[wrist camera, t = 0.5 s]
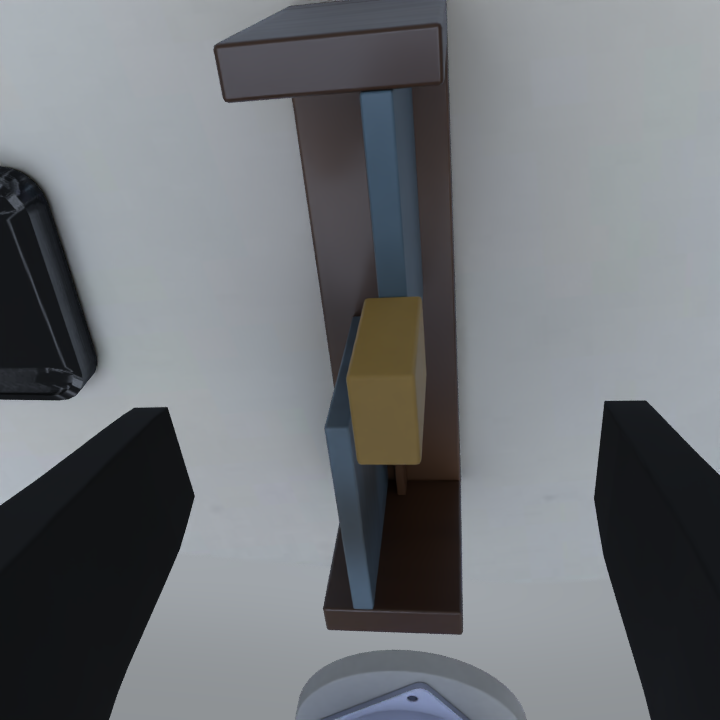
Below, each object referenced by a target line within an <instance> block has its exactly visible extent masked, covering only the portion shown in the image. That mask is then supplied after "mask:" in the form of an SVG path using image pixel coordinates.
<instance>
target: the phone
mask: <svg viewBox="0 0 720 720" xmlns="http://www.w3.org/2000/svg"><path fill="white" fill-rule="evenodd" d="M96 366H97V360H96V354H95V351H94V348H93V345H92V341H91V338H90V335H89V332H88V329H87V326H86V322H85V319H84V316H83V313H82V310H81V307H80V304H79V300H78V297H77V294H76V291H75V288H74V285H73V281H72V278H71V275H70V272H69V269H68V266H67V263H66V259H65V256H64V253H63V250H62V247H61V244H60V240H59V237H58V234H57V231H56V228H55V225H54V222H53V218H52V215H51V212H50V209H49V206H48V203H47V201H46V199H45V197H44V194H43V192H42V191H41V190H40V189H39V187H38V186H37V185H36V184H35V182H34V181H32V180H31V179H30V178H28V177H27V176H26V175H25V174H23V173H21V172H19V171H16V170H14V169H12V168H5V167H0V399H2V400H66V399H70V398H72V397H74V396H76V395H77V394H78V393H79V391H80V390H81V389H82V388H83V386H84V385H85V384H86V383H87V381H88V380H89V379H90V378H91V376H92V375H93V374H94V372H95V370H96Z"/></svg>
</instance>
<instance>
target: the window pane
mask: <svg viewBox="0 0 720 720" xmlns="http://www.w3.org/2000/svg"><path fill="white" fill-rule="evenodd" d="M360 106H361V117H362V127H363V138H364V148H365V158H366V169H367V179H368V190H369V200H370V211H371V221H372V231H373V242H374V252H375V263H376V273H377V283H378V294H379V298H368V299H365V301H364V304H363V309H362V313H361V317H360V321H359V326H358V330H357V334H356V338H355V343H354V347H353V351H352V355H351V360H350V364H349V368H348V372H347V377H346V382H347V390H348V397H349V405H350V412H351V420H352V427H353V435H354V442H355V450H356V457H357V461H358V463H359V464H361V465H417V464H420V462H421V458H422V441H423V424H424V408H425V391H426V359H425V342H424V325H423V308H422V300H423V275H422V258H421V241H420V223H419V206H418V188H417V171H416V154H415V136H414V119H413V101H412V88H401V89H389V90H377V91H365V92H361V93H360Z"/></svg>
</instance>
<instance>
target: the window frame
mask: <svg viewBox="0 0 720 720" xmlns="http://www.w3.org/2000/svg"><path fill="white" fill-rule="evenodd" d="M214 54H215V60H216V65H217V70H218V75H219V80H220V85H221V90H222V95H223V99H224V101H225V102H228V103H233V102H245V101H257V100H269V99H281V98H292V101H293V108H294V115H295V122H296V129H297V136H298V142H299V149H300V156H301V163H302V170H303V177H304V184H305V190H306V197H307V204H308V211H309V218H310V225H311V232H312V239H313V245H314V252H315V259H316V266H317V273H318V280H319V287H320V293H321V300H322V307H323V314H324V321H325V328H326V335H327V342H328V348H329V355H330V362H331V369H332V376H333V383H334V392H333V396H332V400H331V404H330V408H329V412H328V416H327V420H326V424H325V428H324V429H325V435H326V441H327V447H328V454H329V460H330V466H331V472H332V478H333V485H334V491H335V497H336V503H337V510H338V516H339V528H338V533H337V538H336V543H335V549H334V554H333V559H332V564H331V570H330V575H329V580H328V586H327V591H326V596H325V602H324V607H323V610H324V615H325V621H326V626H327V629H328V630H345V631H374V632H402V633H430V634H458V635H460V634H462V632H463V604H462V603H463V600H462V599H463V598H462V522H461V467H460V434H459V401H458V368H457V335H456V302H455V269H454V236H453V203H452V171H451V138H450V105H449V72H448V39H447V6H446V0H344V1H334V2H324V3H315V4H305V5H295V6H289V7H287V8H285V9H283V10H281V11H279V12H277V13H275V14H273V15H271V16H270V17H268V18H266V19H264V20H262V21H260V22H258V23H256V24H254V25H252V26H250V27H248V28H246V29H244V30H242V31H240V32H238V33H236V34H235V35H233V36H231V37H229V38H227V39H225V40H223V41H221V42H219V43H217V44H216V45H214ZM401 88H412V101H413V119H414V136H415V154H416V171H417V188H418V206H419V223H420V241H421V258H422V275H423V300H422V308H423V325H424V342H425V359H426V391H425V408H424V424H423V441H422V458H421V462H420V464H417V465H361V464H359V463H358V461H357V457H356V450H355V442H354V435H353V427H352V420H351V412H350V405H349V397H348V390H347V382H346V377H347V372H348V368H349V364H350V360H351V355H352V351H353V347H354V343H355V338H356V334H357V330H358V326H359V321H360V317H361V313H362V309H363V304H364V301H365V299H368V298H379V294H378V283H377V273H376V263H375V252H374V242H373V231H372V221H371V211H370V200H369V190H368V179H367V169H366V158H365V148H364V138H363V127H362V117H361V106H360V93H361V92H365V91H377V90H389V89H401Z"/></svg>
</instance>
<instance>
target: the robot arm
mask: <svg viewBox="0 0 720 720" xmlns="http://www.w3.org/2000/svg"><path fill="white" fill-rule="evenodd" d="M194 497H195V495H194V492H193V489H192V486H191V482H190V479H189V476H188V473H187V469H186V466H185V463H184V460H183V456H182V453H181V450H180V446H179V443H178V440H177V437H176V433H175V430H174V427H173V424H172V420H171V417H170V414H169V411H168V407H155V408H133V409H132V410H130V411H129V412H127V413H126V414H124V415H123V416H121V417H120V418H118V419H117V420H116V421H114V422H113V423H111V424H110V425H109V426H107V427H106V428H105V429H103V430H102V431H101V432H99V433H98V434H97V435H95V436H94V437H93V438H91V439H90V440H89V441H87V442H86V443H85V444H84V445H82V446H81V447H80V448H78V449H77V450H76V451H74V452H73V453H72V454H70V455H69V456H68V457H66V458H65V459H64V460H62V461H61V462H60V463H58V464H57V465H56V466H54V467H53V468H52V469H50V470H49V471H48V472H46V473H45V474H44V475H42V476H41V477H40V478H38V479H37V480H36V481H34V482H33V483H32V484H30V485H29V486H27V487H26V488H25V489H23V490H22V491H20V492H19V493H17V494H16V495H15V496H13V497H12V498H10V499H9V500H7V501H6V502H5V503H3V504H2V505H0V720H109V718H110V715H111V712H112V709H113V705H114V703H115V700H116V697H117V694H118V691H119V689H120V686H121V683H122V681H123V678H124V676H125V673H126V670H127V668H128V666H129V664H130V661H131V659H132V657H133V654H134V652H135V650H136V648H137V646H138V643H139V641H140V639H141V637H142V634H143V632H144V630H145V627H146V625H147V623H148V621H149V619H150V616H151V614H152V612H153V609H154V607H155V605H156V603H157V600H158V598H159V596H160V594H161V592H162V589H163V587H164V585H165V582H166V580H167V578H168V575H169V573H170V571H171V568H172V566H173V564H174V561H175V559H176V557H177V554H178V552H179V550H180V547H181V543H182V540H183V537H184V533H185V530H186V527H187V523H188V519H189V516H190V512H191V508H192V504H193V501H194ZM594 501H595V507H596V514H597V520H598V526H599V532H600V538H601V544H602V549H603V555H604V559H605V563H606V566H607V570H608V573H609V576H610V580H611V583H612V587H613V590H614V593H615V596H616V600H617V603H618V607H619V610H620V613H621V617H622V620H623V623H624V626H625V630H626V633H627V637H628V640H629V643H630V647H631V650H632V653H633V657H634V660H635V663H636V667H637V670H638V673H639V676H640V680H641V683H642V687H643V690H644V694H645V697H646V702H647V706H648V709H649V714H650V718H651V720H720V475H719V474H718V473H717V472H716V471H715V470H714V469H713V468H712V467H711V466H710V465H709V464H708V463H707V462H706V461H705V460H704V459H703V458H702V457H701V456H700V455H699V454H698V453H697V452H696V451H695V450H694V449H693V448H692V447H691V446H690V445H689V444H688V443H687V442H686V441H685V440H684V439H683V438H682V437H681V436H680V435H679V434H678V433H677V432H676V431H675V430H674V429H673V428H672V427H671V426H670V425H669V424H668V423H667V421H666V420H665V419H664V418H663V417H662V416H661V415H660V414H659V413H658V412H657V411H656V410H655V409H654V408H653V407H652V406H651V405H650V404H649V403H648V402H647V401H605V402H604V411H603V420H602V430H601V439H600V448H599V458H598V467H597V476H596V486H595V495H594ZM321 720H470V719H468V718H467V717H466V716H465V715H464V714H462V713H461V712H460V711H459V710H458V709H457V708H455V707H454V706H453V705H452V704H451V703H449V702H448V701H447V700H446V699H445V698H443V697H442V696H441V695H440V694H439V693H437V692H436V691H435V690H434V689H433V688H431V687H430V686H429V685H428V684H426V683H423V682H417V683H414V684H411V685H409V686H406V687H403V688H401V689H398V690H396V691H393V692H391V693H388V694H385V695H383V696H380V697H378V698H375V699H372V700H370V701H367V702H365V703H362V704H360V705H357V706H354V707H352V708H349V709H347V710H344V711H341V712H339V713H336V714H334V715H331V716H329V717H326V718H323V719H321Z"/></svg>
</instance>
